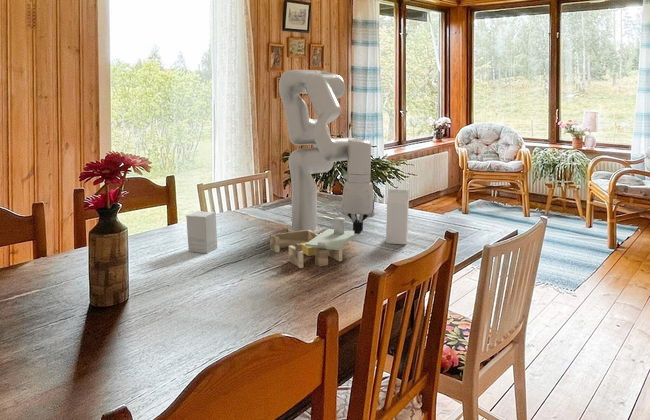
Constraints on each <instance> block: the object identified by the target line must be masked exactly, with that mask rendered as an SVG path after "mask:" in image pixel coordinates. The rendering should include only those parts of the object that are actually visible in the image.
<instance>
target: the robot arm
mask: <svg viewBox="0 0 650 420" xmlns="http://www.w3.org/2000/svg"><path fill="white" fill-rule="evenodd" d="M278 92H279V97H280V99H281V102H282V105H283V108H284V112H285V120H286V125H287V133H288V137H289V141H290V143H291V144H293V146H294V145H295V146H310V145H312V146H314V147H308V148H298V149H296V150H293V151H292V152H290V154H289V156H288V160H287V161H288V168H289V174H290V179H291V182H290V183H291V187H290V188H291V218H290V221H291V225H290V226H289V227H288V228H287V232H293V231H301V230H308V229H309V230H311V231H314V232H316V233H318V234H319V233H320V234H321V233H322V228H321V227H320V226H318V193H317V192H318V189H317V188H318V186H317V183H316V181H315V179H314V177H313V176H312V175H314V174H320V173H327V172H329V171H330V170H332V169H333V167H334V164H335V162H343V161H347V168H346V169H347V171H346V173H343V175H342V178H343V179H345V180H346V181H344V184H343V190H342V198H341V211H342V213H341V215H343V216H347V217H349V218H350V220H351V222H352V231H354V234H358V235H360V234H361V233H362V232H363V230H364V221H365V220H367V218H373V217H374V216H375V211H374V210H375V193H374V185H373V182H372V181H371V170H372V169H371V166H372V158H371V157H372V144H371V141H369V140H364V139H358V138H357V137H334V138H332V137H331V136H332V135H331V131H330V127H329V126H328V125H329V124H330V123H331V122H333V121H335V120H336V119H337V118H339V116H340V115H341V113H342V106H341V105H340V103H339V101H338V99H340V98H342V97H343V96H344V95H345V92H346V83H345V81H344V79H343V77H342V76H341V75H338V74H336V73H333V72H329V71H326V70H325V71H324V70H316V69H291V70H287V71H284V72H283V73H282V74H281V76H280V78H279V81H278ZM300 94H302V95H303V94H304V95H305V94H306V95H307V96H308V98H309V101H310V102H311V105H312V108H313V109H314V113H315V114H316V116H317V118H311V117H310V115H309V114H310V113H309V108H308V105H307V103H306V102H305V100H304V99H303V98H302V97H301V96H300ZM358 215H359V218H358Z"/></svg>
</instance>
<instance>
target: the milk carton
mask: <svg viewBox="0 0 650 420" xmlns="http://www.w3.org/2000/svg"><path fill="white" fill-rule="evenodd" d="M409 193H410V190H409V189H401V188H400V189H399V188H398V189H397V188H396V189H395V188H393V189H391V188H388V190H387V199H386V228H385V229H386V230H385V232H386V233H385V235H386V236H385V244H390V245H391V244H394V245H407V243H408V235H409V234H408V233H409V231H408V230H409V229H408V228H409V225H408V224H409V204H410V203H409V201H410V199H409V197H410V196H409V195H410V194H409Z"/></svg>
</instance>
